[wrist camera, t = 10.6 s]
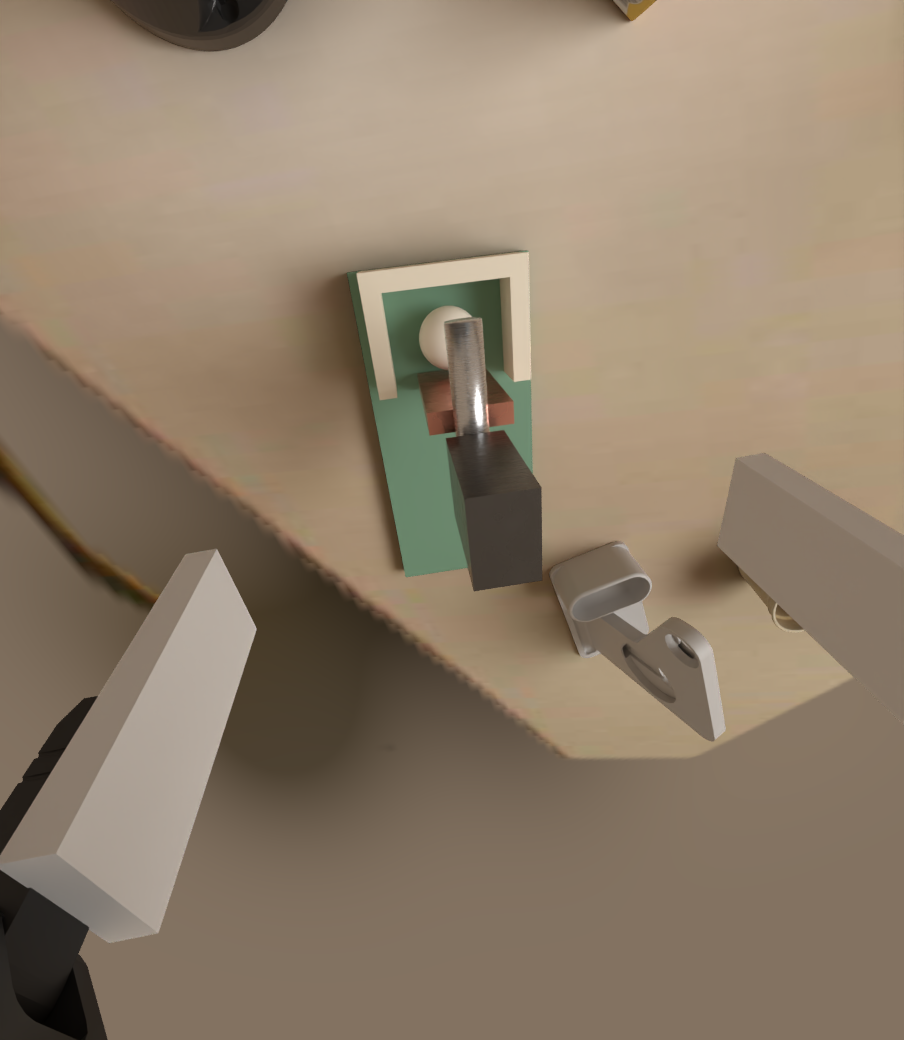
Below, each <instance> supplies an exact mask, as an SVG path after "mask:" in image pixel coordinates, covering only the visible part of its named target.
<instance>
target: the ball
mask: <svg viewBox="0 0 904 1040" xmlns="http://www.w3.org/2000/svg"><path fill="white" fill-rule="evenodd" d="M468 317H472V316H471V315H470V314H469V313H468V312H466V311H465V310H463V309H462V308H459V307H456V306H442V307H439V308H437V309H435V310H433V311H432V312H430V313H429V314H428V315H427V317H426V318H425V319H424V321H423V323H422V325H421V328H420V332H419V343H420V347H421V350H422V353H423V355H424V356H425V358H426V359H427V360H428V361H429V362H430V363H431V364H432V365H434V366H436V367H438V368H440V369H444V370H449V369H448V360H447V350H446V341H445V331H444V322H445V321H448V320H453V319H459V318H468Z"/></svg>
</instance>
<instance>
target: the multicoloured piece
mask: <svg viewBox="0 0 904 1040" xmlns="http://www.w3.org/2000/svg"><path fill="white" fill-rule="evenodd" d="M444 331H445V341H446V350H447V360H448V369H449V370H440V371H432V372H425V373H417V376H418V383H419V390H420V395H421V400H422V404H423V408H424V413H425V417H426V422H427V426H428V431H429V435H430V436H431V435H438V434H445V433H452V432H455V435H456V437H450V438H446V446H447V455H448V463H449V472H450V480H451V489H452V497H453V506H454V514H455V519H456V523H457V527H458V531H459V535H460V539H461V543H462V546H463V550H464V554H465V558H466V562H467V566H468V570H469V574H470V578H471V582H472V586H473V590H474V591H479V590H485V589H491V588H497V587H504V586H510V585H516V584H523V583H529V582H535V581H542V507H541V486H540V485H539V483H538V482H537V480H536V479H535V477H534V475H533V474H532V472H531V471H530V469H529V468H528V466H527V465H526V463H525V462H524V460H523V458H522V457H521V455H520V454H519V452H518V451H517V449H516V448H515V446H514V445H513V443H512V442H511V440H510V438H509V437H508V435H507V434H506V432H505V431H504V430H500V431H493V432H490V430H489V427H494V426H501V425H508V424H514V401H513V400H512V399H511V398H510V396H509V395H508V394H507V393H506V392H505V390H504V389H503V388H502V387H501V386H500V384H499V383H498V382H497V381H496V380H495V378H494V377H493V376H492V375H491V374H490V372H489V371H488V370H487V369H486V368H485V355H484V340H483V325H482V318H479V317H468V318H459V319H453V320H448V321H445V322H444Z"/></svg>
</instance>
